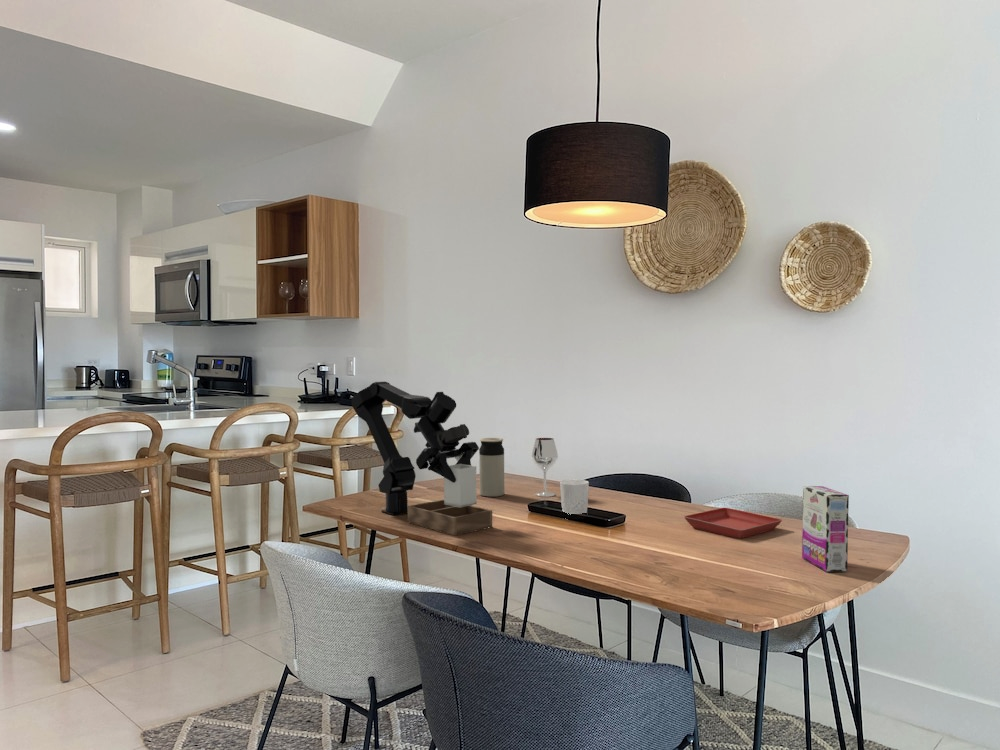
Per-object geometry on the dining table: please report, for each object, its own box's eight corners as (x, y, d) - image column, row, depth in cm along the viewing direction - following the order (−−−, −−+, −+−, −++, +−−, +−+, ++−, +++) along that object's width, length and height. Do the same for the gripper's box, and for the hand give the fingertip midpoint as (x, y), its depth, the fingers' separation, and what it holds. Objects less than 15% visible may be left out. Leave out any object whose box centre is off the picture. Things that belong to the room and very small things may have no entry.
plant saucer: (783, 531, 197) (783, 518, 197) (741, 542, 186) (741, 529, 186) (724, 518, 211) (724, 507, 211) (682, 528, 200) (682, 516, 200)
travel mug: (497, 498, 240) (497, 441, 239) (475, 496, 243) (474, 439, 243) (508, 493, 247) (508, 438, 246) (486, 491, 251) (486, 437, 250)
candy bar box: (849, 572, 160) (850, 494, 160) (826, 573, 160) (827, 495, 159) (822, 557, 171) (823, 485, 171) (800, 558, 171) (801, 485, 170)
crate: (407, 522, 208) (407, 505, 207) (445, 515, 216) (445, 498, 216) (454, 535, 193) (453, 517, 193) (492, 527, 202) (492, 509, 202)
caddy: (444, 504, 201) (444, 466, 200) (460, 500, 205) (460, 463, 205) (460, 507, 197) (460, 469, 196) (476, 504, 201) (476, 466, 201)
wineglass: (558, 497, 240) (558, 440, 240) (532, 497, 240) (532, 440, 240) (556, 492, 248) (556, 437, 248) (531, 492, 249) (531, 437, 248)
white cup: (587, 521, 208) (587, 484, 207) (558, 520, 209) (558, 484, 209) (590, 515, 215) (589, 479, 215) (562, 513, 217) (562, 479, 217)
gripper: (423, 417, 196) (453, 465, 189) (474, 412, 210) (503, 456, 203) (403, 445, 201) (431, 492, 195) (454, 438, 215) (482, 482, 208)
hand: (463, 479), depth 200 cm, fingers closed on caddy, 6 cm apart
